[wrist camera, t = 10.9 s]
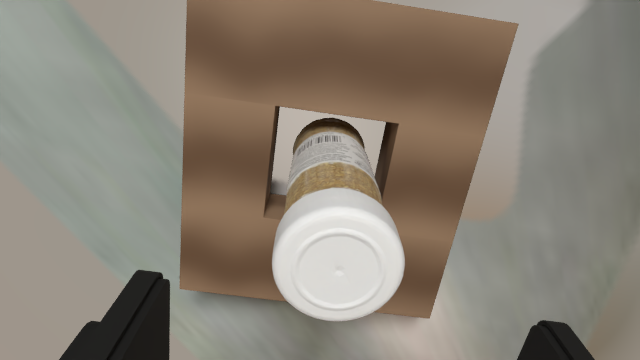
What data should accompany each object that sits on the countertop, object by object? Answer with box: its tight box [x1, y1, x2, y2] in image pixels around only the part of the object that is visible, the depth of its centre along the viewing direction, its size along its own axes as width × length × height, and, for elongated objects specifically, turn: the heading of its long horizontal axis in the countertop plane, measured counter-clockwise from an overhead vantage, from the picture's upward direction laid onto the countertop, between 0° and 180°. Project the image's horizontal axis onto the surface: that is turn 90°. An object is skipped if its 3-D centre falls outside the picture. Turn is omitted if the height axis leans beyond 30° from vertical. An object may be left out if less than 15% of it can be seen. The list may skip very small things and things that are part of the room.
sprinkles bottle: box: [272, 118, 405, 321], centre depth 20 cm, size 5×5×13 cm
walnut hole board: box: [180, 0, 518, 319], centre depth 25 cm, size 18×16×4 cm
